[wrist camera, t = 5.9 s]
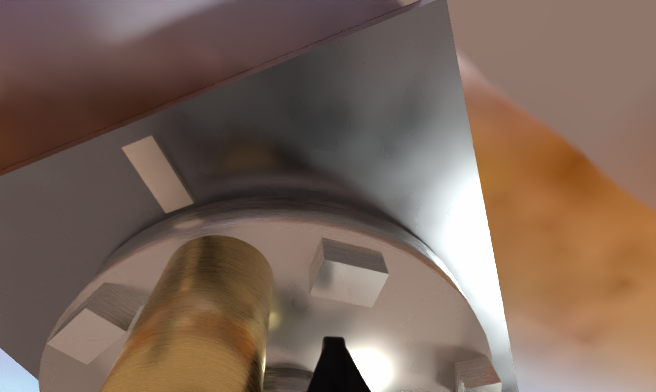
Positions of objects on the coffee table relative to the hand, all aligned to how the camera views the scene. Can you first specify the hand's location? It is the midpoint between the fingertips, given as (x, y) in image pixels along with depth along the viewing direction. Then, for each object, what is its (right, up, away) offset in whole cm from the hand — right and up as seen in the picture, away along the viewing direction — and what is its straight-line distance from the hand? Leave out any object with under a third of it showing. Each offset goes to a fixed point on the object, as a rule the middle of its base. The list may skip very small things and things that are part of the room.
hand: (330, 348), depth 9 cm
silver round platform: (-2, -4, +6) cm, 8 cm away
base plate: (-2, -2, +9) cm, 9 cm away
